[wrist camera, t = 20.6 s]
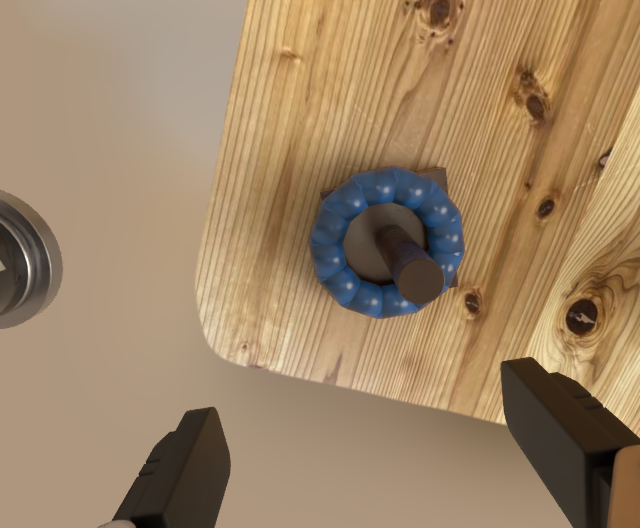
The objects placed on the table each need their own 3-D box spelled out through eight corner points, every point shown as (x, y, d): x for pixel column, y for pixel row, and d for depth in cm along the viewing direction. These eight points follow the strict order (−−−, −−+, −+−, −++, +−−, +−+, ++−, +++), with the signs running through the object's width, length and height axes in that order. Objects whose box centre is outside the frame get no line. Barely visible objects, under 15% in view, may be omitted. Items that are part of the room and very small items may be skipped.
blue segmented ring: (325, 320, 32) (325, 333, 30) (297, 183, 29) (295, 186, 27) (464, 296, 31) (475, 308, 29) (448, 153, 29) (459, 154, 26)
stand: (341, 299, 33) (348, 374, 22) (320, 189, 31) (317, 211, 20) (452, 280, 33) (517, 347, 22) (440, 166, 30) (505, 176, 19)
